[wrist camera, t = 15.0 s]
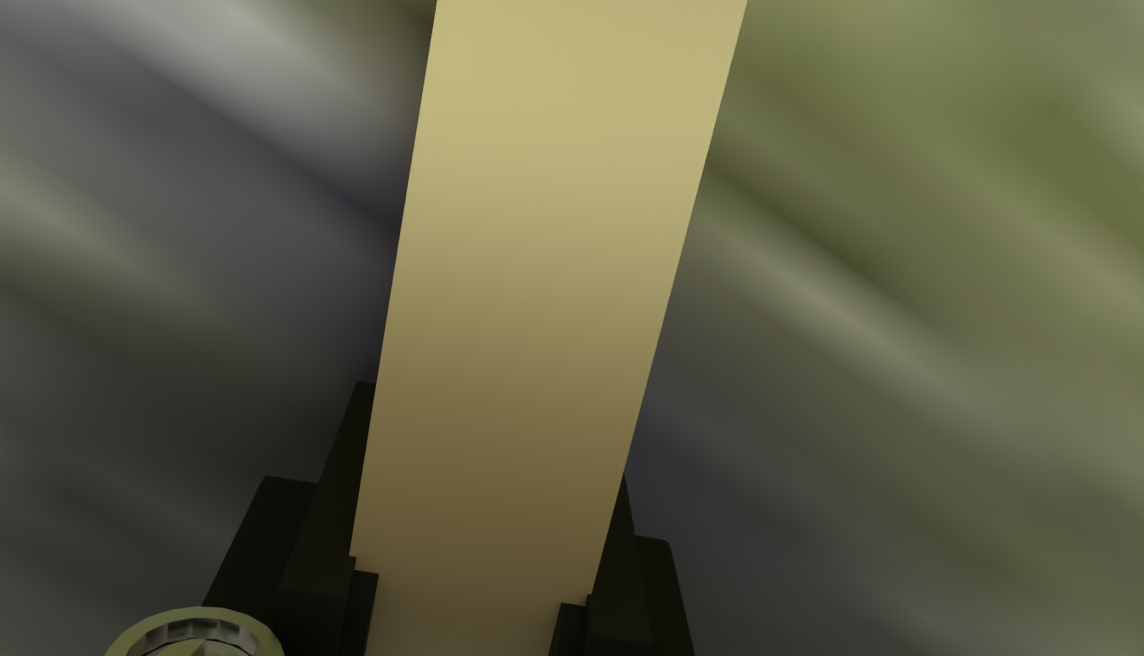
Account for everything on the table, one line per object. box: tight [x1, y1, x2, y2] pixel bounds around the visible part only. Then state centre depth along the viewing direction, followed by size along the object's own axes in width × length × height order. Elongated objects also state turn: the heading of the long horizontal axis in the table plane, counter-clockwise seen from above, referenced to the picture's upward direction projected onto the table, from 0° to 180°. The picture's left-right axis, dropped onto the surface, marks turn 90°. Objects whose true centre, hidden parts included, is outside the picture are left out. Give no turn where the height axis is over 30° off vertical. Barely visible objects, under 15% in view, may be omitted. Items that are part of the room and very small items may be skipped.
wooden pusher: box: [349, 0, 748, 656], centre depth 9 cm, size 31×9×4 cm, turn 168°
